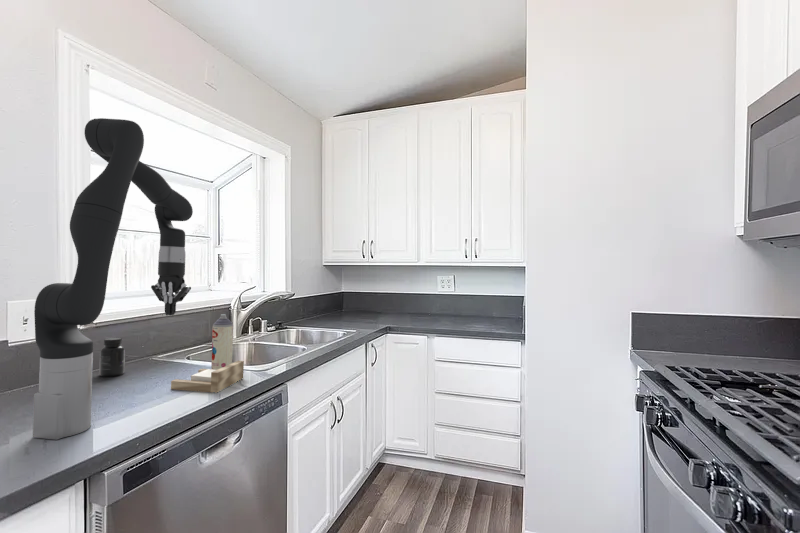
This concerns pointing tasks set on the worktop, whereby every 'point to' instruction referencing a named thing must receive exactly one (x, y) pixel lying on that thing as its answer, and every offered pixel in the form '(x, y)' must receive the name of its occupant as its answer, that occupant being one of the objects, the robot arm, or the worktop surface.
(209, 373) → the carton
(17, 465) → the worktop surface
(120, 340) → the supplement bottle
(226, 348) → the aerosol can
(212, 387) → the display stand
